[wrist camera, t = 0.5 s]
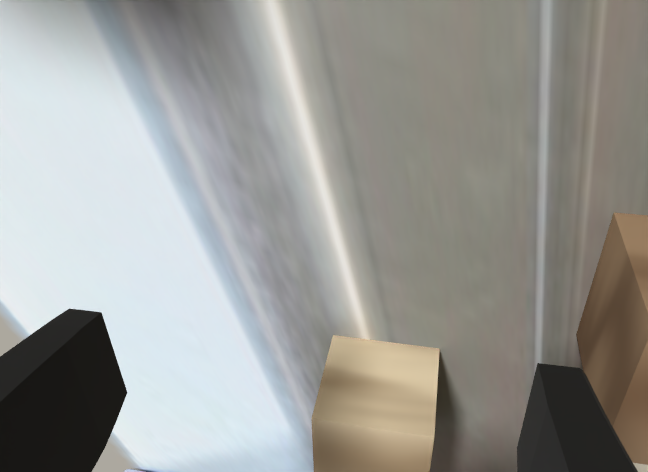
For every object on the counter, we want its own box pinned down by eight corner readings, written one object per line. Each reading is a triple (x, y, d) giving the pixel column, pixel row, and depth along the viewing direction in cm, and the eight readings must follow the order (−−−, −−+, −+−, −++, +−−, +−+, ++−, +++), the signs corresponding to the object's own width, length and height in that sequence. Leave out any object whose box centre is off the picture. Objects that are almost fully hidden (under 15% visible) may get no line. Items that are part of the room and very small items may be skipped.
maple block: (430, 416, 25) (424, 507, 22) (334, 402, 26) (314, 488, 23) (439, 347, 23) (434, 437, 20) (333, 333, 23) (311, 418, 20)
